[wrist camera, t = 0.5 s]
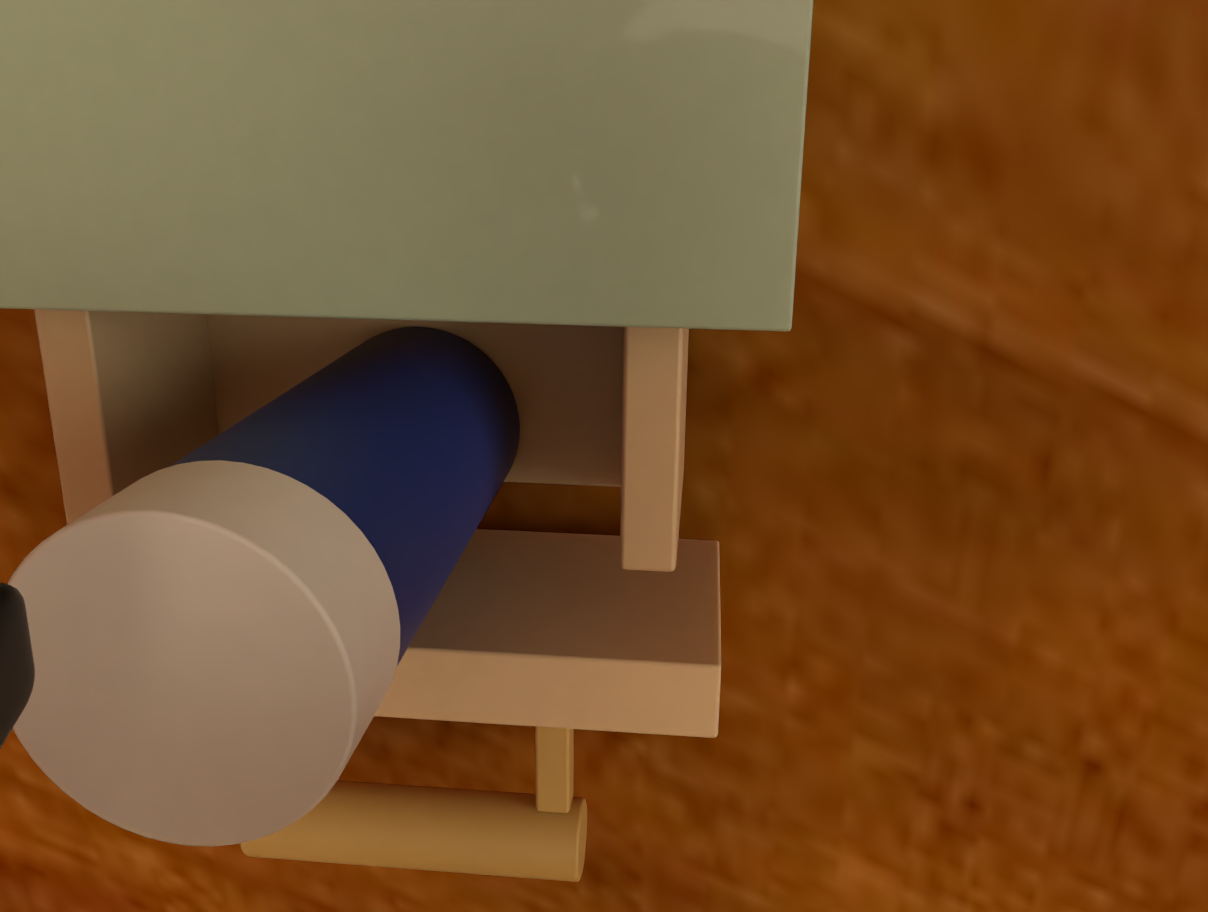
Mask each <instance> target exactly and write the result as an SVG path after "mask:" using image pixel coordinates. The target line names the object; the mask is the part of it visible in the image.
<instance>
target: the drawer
mask: <svg viewBox="0 0 1208 912" xmlns="http://www.w3.org/2000/svg"><path fill="white" fill-rule="evenodd" d="M34 313H35V319H36V326H37V332H38V339H39V345H40V351H41V358H42V364H43V371H44V377H45V384H46V390H47V397H48V403H49V410H50V416H51V423H52V429H53V436H54V442H55V449H56V455H57V462H58V468H59V475H60V481H61V488H62V494H63V501H64V507H65V514H66V520H67V525H68V524H69V523H71V522H73V521H74V520H76V519H77V518H79V517H81V516H82V515H84V514H85V513H87V512H88V511H90V510H92V509H93V508H95V507H96V506H98V505H100V504H101V503H103V502H104V501H106V500H108V499H109V498H111V497H112V496H114V495H116V494H117V493H119V492H120V491H122V490H123V489H125V488H127V487H128V486H130V485H131V484H133V483H135V482H136V481H138V480H139V479H141V478H143V477H145V476H147V475H150V474H152V473H154V472H156V471H158V470H161V469H164V468H167V467H169V466H171V465H172V464H174V463H175V462H177V461H178V460H180V459H182V458H183V457H185V456H186V455H188V454H189V453H191V452H193V451H194V450H196V449H197V448H199V447H200V446H202V445H204V444H205V443H207V442H208V441H210V440H211V439H213V438H214V437H216V436H218V435H219V434H221V433H222V432H224V431H225V430H227V429H229V428H230V427H232V426H233V425H235V424H236V423H238V422H240V421H241V420H243V419H244V418H246V417H247V416H249V415H250V414H252V413H254V412H255V411H257V410H258V409H260V408H261V407H263V406H265V405H266V404H268V403H269V402H271V401H272V400H274V399H276V398H277V397H279V396H280V395H282V394H283V393H285V392H286V391H288V390H290V389H291V388H293V387H294V386H296V385H297V384H299V383H301V382H302V381H304V380H305V379H307V378H308V377H310V376H312V375H313V374H315V373H316V372H318V371H319V370H321V369H322V368H324V367H326V366H327V365H329V364H330V363H332V362H333V361H335V360H337V359H338V358H340V357H341V356H343V355H344V354H346V353H348V352H349V351H351V350H352V349H354V348H355V347H357V346H359V345H360V344H362V343H363V342H365V341H366V340H368V339H369V338H372V337H374V336H376V335H378V334H380V333H382V332H386V331H389V330H392V329H397V328H403V327H428V328H434V329H439V330H443V331H446V332H449V333H452V334H454V335H457V336H459V337H461V338H463V339H465V340H467V341H469V342H470V343H472V344H473V345H474V346H476V347H477V348H479V349H480V350H481V351H482V352H484V353H485V354H486V355H487V356H488V357H489V358H490V359H491V360H492V361H493V362H494V363H495V365H496V366H497V367H498V368H499V369H500V371H501V372H502V374H503V375H504V377H505V378H506V380H507V382H508V384H509V386H510V388H511V390H512V392H513V395H514V398H515V401H516V404H517V408H518V413H519V421H520V438H519V445H518V450H517V454H516V457H515V460H514V463H513V465H512V467H511V469H510V471H509V473H508V475H507V477H506V478H505V480H504V482H518V483H542V484H565V485H588V486H611V487H621V510H620V536H614V535H592V534H571V533H550V532H529V531H508V530H487V529H476V530H475V532H474V534H473V536H472V537H471V539H470V541H469V543H468V544H467V546H466V548H465V550H464V551H463V553H462V555H461V556H460V558H459V560H458V562H457V563H456V565H455V567H454V569H453V570H452V572H451V574H450V576H449V577H448V579H447V581H446V582H445V584H444V586H443V588H442V589H441V591H440V593H439V595H438V596H437V598H436V600H435V602H434V603H433V605H432V607H431V608H430V610H429V612H428V614H427V615H426V617H425V619H424V621H423V622H422V624H421V626H420V628H419V629H418V631H417V633H416V634H415V636H414V638H413V640H412V641H411V643H410V645H409V647H408V648H407V650H406V652H405V654H404V655H403V657H402V659H401V661H400V662H399V664H398V666H397V667H396V671H395V674H394V677H393V680H392V683H391V685H390V687H389V689H388V691H387V693H386V695H385V697H384V699H383V701H382V703H381V705H380V706H379V708H378V710H377V712H376V713H375V715H374V716H380V717H395V718H411V719H427V720H442V721H458V722H474V723H489V724H505V725H520V726H535V788H536V794H526V793H512V792H498V791H483V790H469V789H455V788H440V787H426V786H412V785H397V784H383V783H369V782H354V781H340V780H337V781H336V783H335V784H334V786H333V787H332V788H331V790H330V791H329V793H328V794H327V795H326V796H325V797H324V798H323V799H322V800H321V801H320V802H319V803H318V804H317V805H316V806H315V807H314V808H313V809H312V810H311V811H310V812H308V813H307V814H306V815H304V816H303V817H301V818H300V819H299V820H297V821H296V822H294V823H292V824H290V825H289V826H287V827H285V828H283V829H281V830H279V831H277V832H275V833H273V834H270V835H267V836H264V837H262V838H259V839H256V840H252V841H248V842H243V843H240V846H241V849H242V851H243V853H244V854H245V855H247V856H250V857H262V858H275V859H288V860H301V861H314V862H327V863H340V864H353V865H366V866H379V867H392V868H405V869H418V870H431V871H444V872H457V873H470V874H482V875H495V876H508V877H521V878H534V879H547V880H560V881H573V882H577V881H579V880H580V878H581V876H582V871H583V865H584V857H585V847H586V834H587V804H586V800H585V798H583V797H573V782H574V729H583V730H599V731H614V732H630V733H645V734H661V735H677V736H692V737H708V738H715V737H716V736H717V735H718V723H719V703H720V684H721V619H720V556H719V542H718V541H716V540H698V539H678V536H679V524H680V511H681V499H682V485H683V475H684V449H685V421H686V393H687V366H688V338H689V329H687V328H653V327H619V326H585V325H551V324H517V323H484V322H450V321H416V320H382V319H348V318H314V317H281V316H247V315H213V314H179V313H145V312H111V311H77V310H44V309H34Z"/></svg>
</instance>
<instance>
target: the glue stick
mask: <svg viewBox="0 0 1208 912" xmlns="http://www.w3.org/2000/svg"><path fill="white" fill-rule="evenodd" d="M519 438H520V421H519V413H518V408H517V404H516V401H515V398H514V395H513V392H512V390H511V388H510V386H509V384H508V382H507V380H506V378H505V377H504V375H503V374H502V372H501V371H500V369H499V368H498V367H497V366H496V365H495V363H494V362H493V361H492V360H491V359H490V358H489V357H488V356H487V355H486V354H485V353H484V352H482V351H481V350H480V349H479V348H477V347H476V346H474V345H473V344H472V343H470V342H469V341H467V340H465V339H463V338H461V337H459V336H457V335H454V334H452V333H449V332H446V331H443V330H439V329H434V328H428V327H403V328H397V329H392V330H389V331H386V332H382V333H380V334H378V335H376V336H374V337H372V338H369V339H368V340H366V341H365V342H363V343H362V344H360V345H359V346H357V347H355V348H354V349H352V350H351V351H349V352H348V353H346V354H344V355H343V356H341V357H340V358H338V359H337V360H335V361H333V362H332V363H330V364H329V365H327V366H326V367H324V368H322V369H321V370H319V371H318V372H316V373H315V374H313V375H312V376H310V377H308V378H307V379H305V380H304V381H302V382H301V383H299V384H297V385H296V386H294V387H293V388H291V389H290V390H288V391H286V392H285V393H283V394H282V395H280V396H279V397H277V398H276V399H274V400H272V401H271V402H269V403H268V404H266V405H265V406H263V407H261V408H260V409H258V410H257V411H255V412H254V413H252V414H250V415H249V416H247V417H246V418H244V419H243V420H241V421H240V422H238V423H236V424H235V425H233V426H232V427H230V428H229V429H227V430H225V431H224V432H222V433H221V434H219V435H218V436H216V437H214V438H213V439H211V440H210V441H208V442H207V443H205V444H204V445H202V446H200V447H199V448H197V449H196V450H194V451H193V452H191V453H189V454H188V455H186V456H185V457H183V458H182V459H180V460H178V461H177V462H175V463H174V464H172V465H171V466H169V467H167V468H164V469H161V470H158V471H156V472H154V473H152V474H150V475H147V476H145V477H143V478H141V479H139V480H138V481H136V482H135V483H133V484H131V485H130V486H128V487H127V488H125V489H123V490H122V491H120V492H119V493H117V494H116V495H114V496H112V497H111V498H109V499H108V500H106V501H104V502H103V503H101V504H100V505H98V506H96V507H95V508H93V509H92V510H90V511H88V512H87V513H85V514H84V515H82V516H81V517H79V518H77V519H76V520H74V521H73V522H71V523H69V524H68V525H66V526H65V527H63V528H61V529H60V530H58V531H57V532H55V533H54V534H52V535H51V536H49V537H48V538H47V539H45V540H44V541H42V542H41V543H40V544H39V545H38V546H37V547H36V548H35V549H33V550H32V551H31V552H30V553H29V554H28V555H27V556H26V557H25V559H24V560H23V561H22V563H21V564H20V565H19V566H18V568H17V569H16V570H15V572H14V573H13V575H12V577H11V579H10V580H9V582H8V584H9V585H11V586H13V587H15V588H17V589H18V590H19V592H20V593H21V595H22V596H23V598H24V601H25V606H26V612H27V619H28V626H29V633H30V639H31V646H32V653H33V660H34V666H35V679H34V686H33V690H32V693H31V696H30V698H29V701H28V703H27V705H26V707H25V709H24V710H23V712H22V714H21V715H20V717H19V718H18V720H17V722H16V723H15V725H14V727H13V730H14V732H15V734H16V735H17V737H18V739H19V741H20V742H21V744H22V745H23V747H24V748H25V749H26V751H27V752H28V754H29V755H30V757H31V758H32V759H33V760H34V762H35V763H36V764H37V765H38V766H39V767H40V769H41V770H42V771H43V772H44V773H45V774H46V776H47V777H48V778H49V779H51V780H52V781H53V782H54V783H55V784H56V785H57V786H58V787H59V788H60V789H61V790H62V791H63V792H64V793H66V794H67V795H68V796H70V797H71V798H72V799H74V800H75V801H76V802H78V803H79V804H80V805H81V806H83V807H84V808H86V809H88V810H89V811H91V812H92V813H94V814H96V815H97V816H99V817H101V818H102V819H104V820H106V821H108V822H110V823H112V824H114V825H116V826H119V827H121V828H123V829H125V830H128V831H130V832H133V833H136V834H139V835H141V836H144V837H147V838H151V839H155V840H159V841H163V842H167V843H173V844H181V845H188V846H223V845H233V844H239V843H243V842H248V841H252V840H256V839H259V838H262V837H264V836H267V835H270V834H273V833H275V832H277V831H279V830H281V829H283V828H285V827H287V826H289V825H290V824H292V823H294V822H296V821H297V820H299V819H300V818H301V817H303V816H304V815H306V814H307V813H308V812H310V811H311V810H312V809H313V808H314V807H315V806H316V805H317V804H318V803H319V802H320V801H321V800H322V799H323V798H324V797H325V796H326V795H327V794H328V793H329V791H330V790H331V788H332V787H333V786H334V784H335V783H336V781H337V780H338V779H339V777H340V775H341V773H342V772H343V770H344V768H345V766H346V765H347V763H348V761H349V759H350V758H351V756H352V754H353V752H354V751H355V749H356V747H357V745H358V743H359V742H360V740H361V738H362V736H363V735H364V733H365V731H366V729H367V728H368V726H369V724H370V722H371V721H372V719H373V717H374V715H375V713H376V712H377V710H378V708H379V706H380V705H381V703H382V701H383V699H384V697H385V695H386V693H387V691H388V689H389V687H390V685H391V683H392V680H393V677H394V674H395V671H396V667H397V666H398V664H399V662H400V661H401V659H402V657H403V655H404V654H405V652H406V650H407V648H408V647H409V645H410V643H411V641H412V640H413V638H414V636H415V634H416V633H417V631H418V629H419V628H420V626H421V624H422V622H423V621H424V619H425V617H426V615H427V614H428V612H429V610H430V608H431V607H432V605H433V603H434V602H435V600H436V598H437V596H438V595H439V593H440V591H441V589H442V588H443V586H444V584H445V582H446V581H447V579H448V577H449V576H450V574H451V572H452V570H453V569H454V567H455V565H456V563H457V562H458V560H459V558H460V556H461V555H462V553H463V551H464V550H465V548H466V546H467V544H468V543H469V541H470V539H471V537H472V536H473V534H474V532H475V530H476V529H477V527H478V525H479V524H480V522H481V520H482V518H483V517H484V515H485V513H486V511H487V510H488V508H489V506H490V504H491V503H492V501H493V499H494V497H495V496H496V494H497V492H498V491H499V489H500V487H501V485H502V484H503V482H504V480H505V478H506V477H507V475H508V473H509V471H510V469H511V467H512V465H513V463H514V460H515V457H516V454H517V450H518V445H519Z"/></svg>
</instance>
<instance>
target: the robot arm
mask: <svg viewBox="0 0 1208 912" xmlns="http://www.w3.org/2000/svg"><path fill="white" fill-rule="evenodd" d="M34 679H35V666H34V660H33V653H32V646H31V639H30V633H29V626H28V619H27V612H26V606H25V601H24V598H23V596H22V595H21V593H20V592H19V590H18V589H17V588H15V587H13V586H11V585H9V584H4V583H0V748H1V747H2V745H3V743H4V742H5V740H6V738H7V737H8V735H9V733H10V732H11V730H12V728H13V727H14V725H15V723H16V722H17V720H18V718H19V717H20V715H21V714H22V712H23V710H24V709H25V707H26V705H27V703H28V701H29V698H30V696H31V693H32V690H33V686H34Z"/></svg>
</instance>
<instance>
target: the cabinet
mask: <svg viewBox="0 0 1208 912" xmlns="http://www.w3.org/2000/svg"><path fill="white" fill-rule="evenodd" d="M812 13H813V0H0V308H10V309H44V310H77V311H111V312H145V313H179V314H213V315H247V316H281V317H314V318H348V319H382V320H416V321H450V322H484V323H517V324H551V325H585V326H619V327H653V328H687V329H720V330H754V331H790V330H791V328H792V315H793V300H794V285H795V270H796V255H797V240H798V225H799V209H800V194H801V179H802V164H803V149H804V134H805V119H806V104H807V89H808V73H809V58H810V43H811V28H812Z"/></svg>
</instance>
